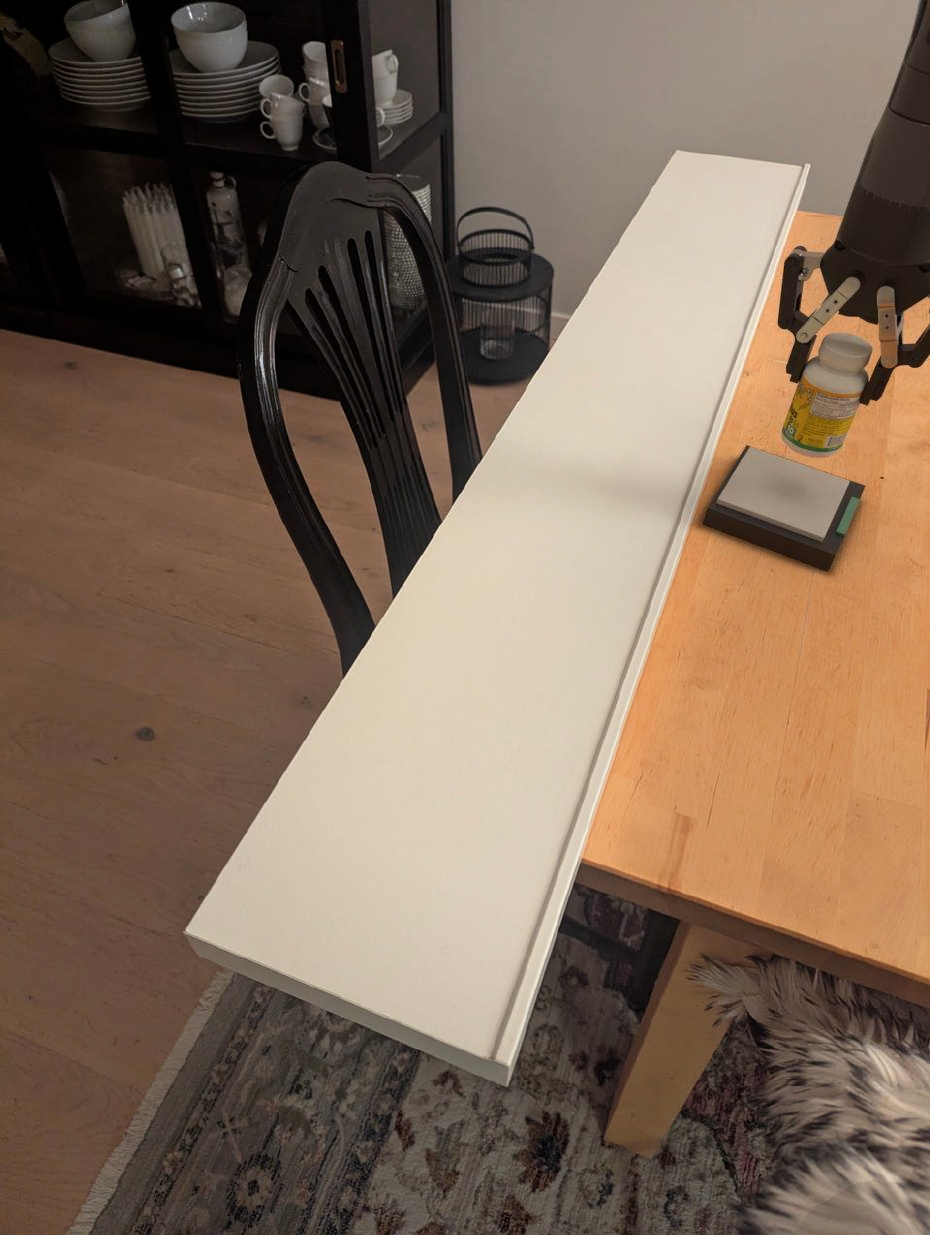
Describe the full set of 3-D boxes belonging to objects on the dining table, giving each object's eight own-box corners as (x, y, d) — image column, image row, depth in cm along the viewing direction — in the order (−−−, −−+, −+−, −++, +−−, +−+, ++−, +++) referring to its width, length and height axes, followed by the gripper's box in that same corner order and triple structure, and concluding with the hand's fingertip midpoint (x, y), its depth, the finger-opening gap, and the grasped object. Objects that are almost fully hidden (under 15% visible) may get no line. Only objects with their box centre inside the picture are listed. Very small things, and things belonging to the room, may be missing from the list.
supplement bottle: (837, 466, 77) (879, 367, 70) (775, 450, 78) (811, 351, 71) (842, 433, 80) (883, 336, 74) (783, 419, 82) (818, 322, 75)
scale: (858, 501, 87) (868, 480, 85) (828, 571, 80) (838, 550, 78) (741, 460, 91) (748, 439, 89) (702, 524, 83) (708, 502, 82)
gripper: (799, 174, 63) (735, 383, 75) (1012, 224, 59) (908, 438, 71) (825, 145, 68) (761, 347, 80) (1025, 190, 63) (924, 396, 76)
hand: (830, 388), depth 75 cm, fingers closed on supplement bottle, 5 cm apart
